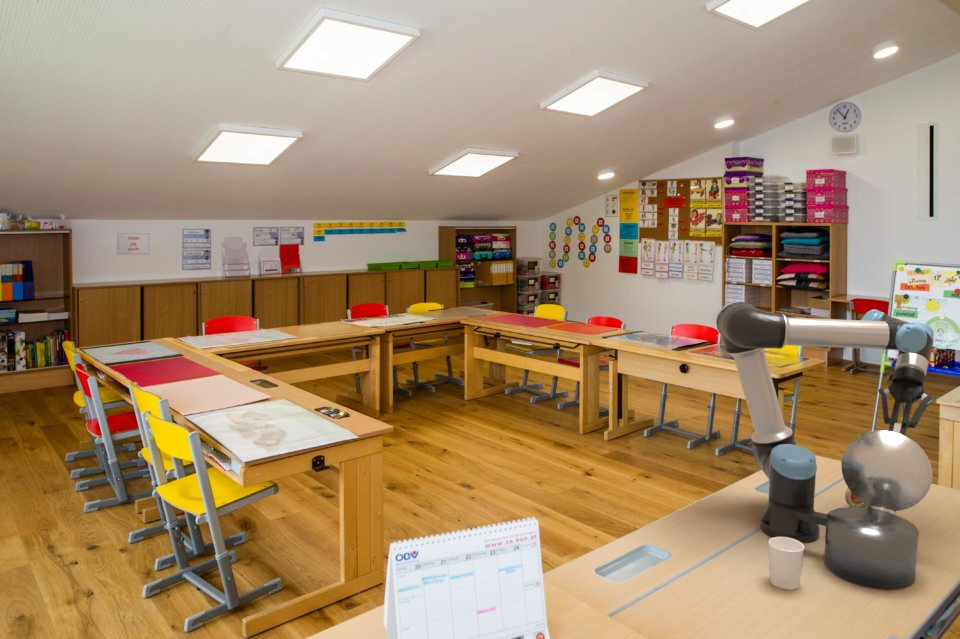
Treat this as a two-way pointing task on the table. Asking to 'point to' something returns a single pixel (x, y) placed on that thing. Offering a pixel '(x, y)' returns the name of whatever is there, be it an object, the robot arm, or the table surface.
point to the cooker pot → (868, 546)
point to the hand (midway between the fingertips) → (893, 447)
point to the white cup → (785, 562)
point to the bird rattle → (853, 499)
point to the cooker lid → (886, 470)
